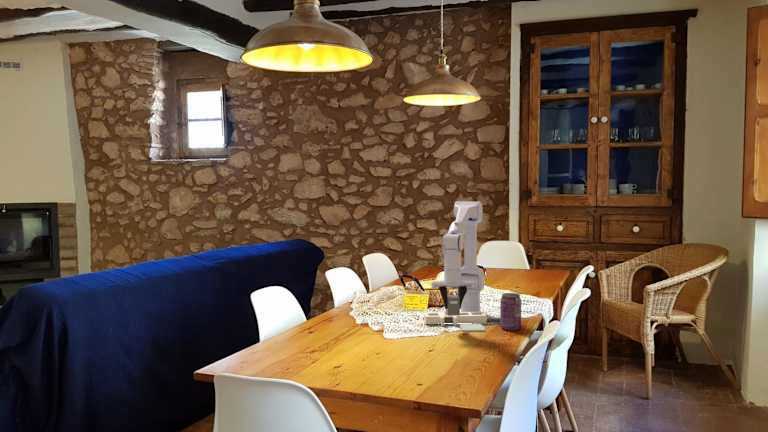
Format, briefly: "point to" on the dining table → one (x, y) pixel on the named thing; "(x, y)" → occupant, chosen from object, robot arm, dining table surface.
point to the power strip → (457, 318)
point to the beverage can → (510, 311)
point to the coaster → (471, 327)
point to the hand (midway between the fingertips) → (452, 308)
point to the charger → (453, 305)
